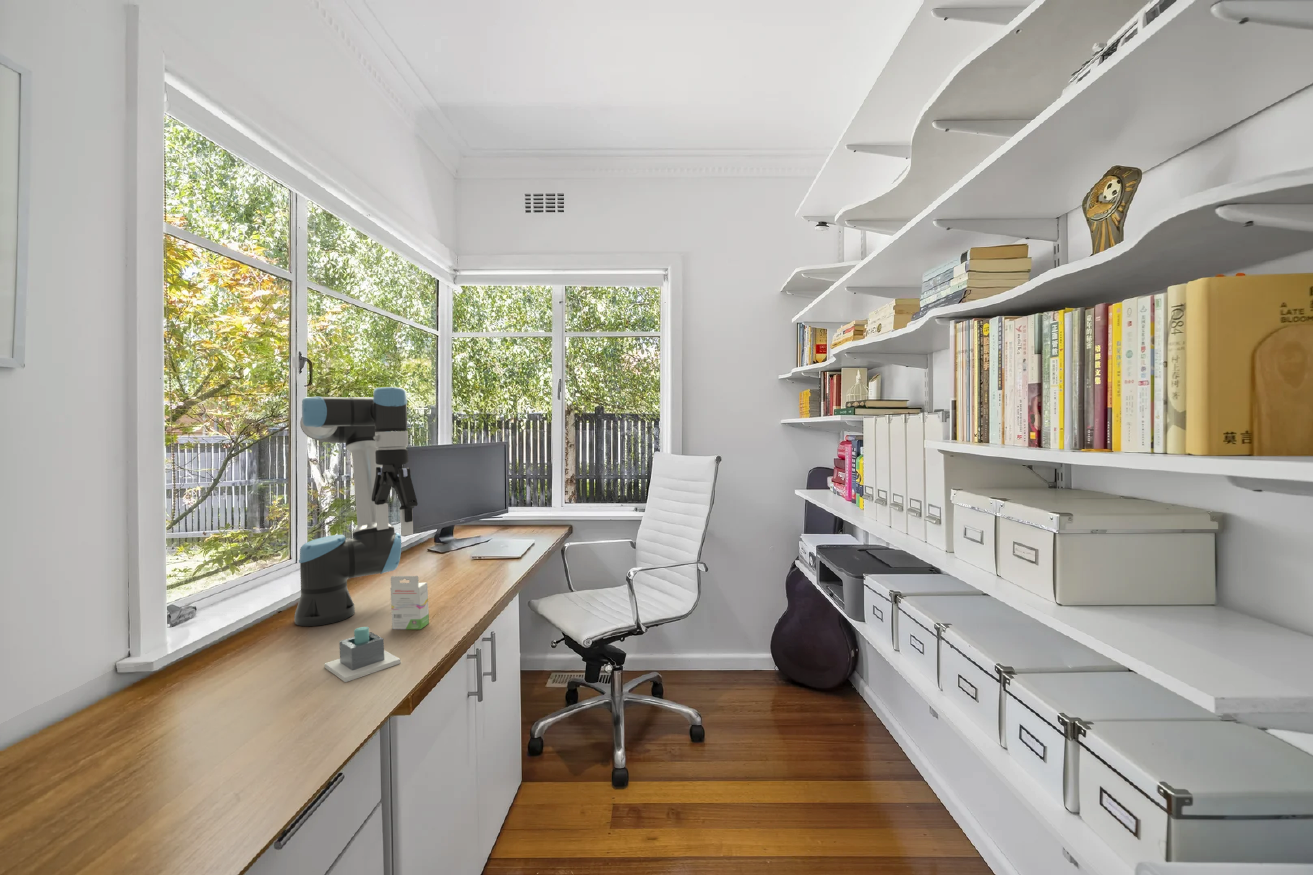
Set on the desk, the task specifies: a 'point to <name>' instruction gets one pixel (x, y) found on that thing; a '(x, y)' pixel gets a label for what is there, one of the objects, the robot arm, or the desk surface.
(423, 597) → the ink box
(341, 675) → the post stand
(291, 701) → the desk surface
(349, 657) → the collar
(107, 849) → the desk surface
